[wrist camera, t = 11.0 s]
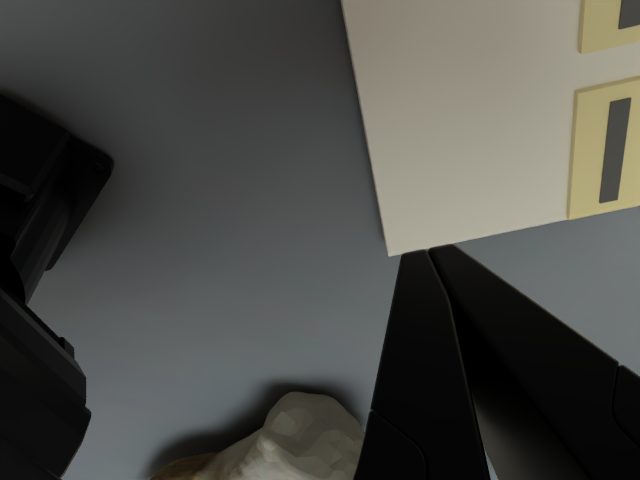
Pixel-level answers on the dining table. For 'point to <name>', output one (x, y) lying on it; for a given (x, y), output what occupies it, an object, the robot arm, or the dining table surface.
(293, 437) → the ceramic sculpture
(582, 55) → the label board
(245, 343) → the dining table surface
